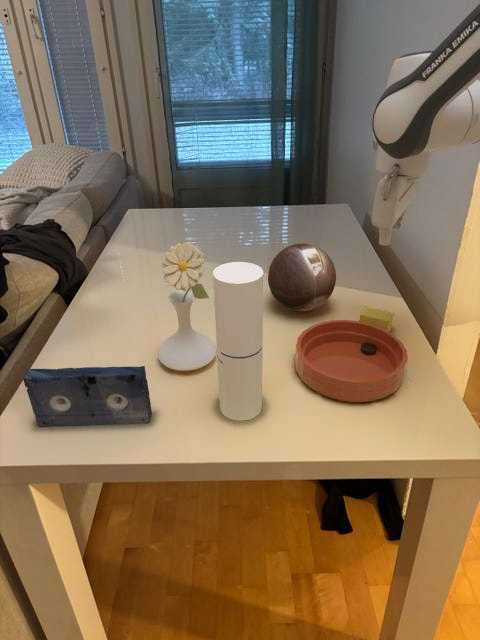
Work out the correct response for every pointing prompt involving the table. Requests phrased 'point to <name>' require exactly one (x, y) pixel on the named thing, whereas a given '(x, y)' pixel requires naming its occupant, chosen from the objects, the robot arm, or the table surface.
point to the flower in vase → (185, 310)
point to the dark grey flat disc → (368, 349)
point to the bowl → (350, 360)
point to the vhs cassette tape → (89, 396)
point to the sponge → (377, 317)
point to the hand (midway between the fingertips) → (390, 235)
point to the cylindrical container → (239, 338)
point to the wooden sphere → (302, 277)
